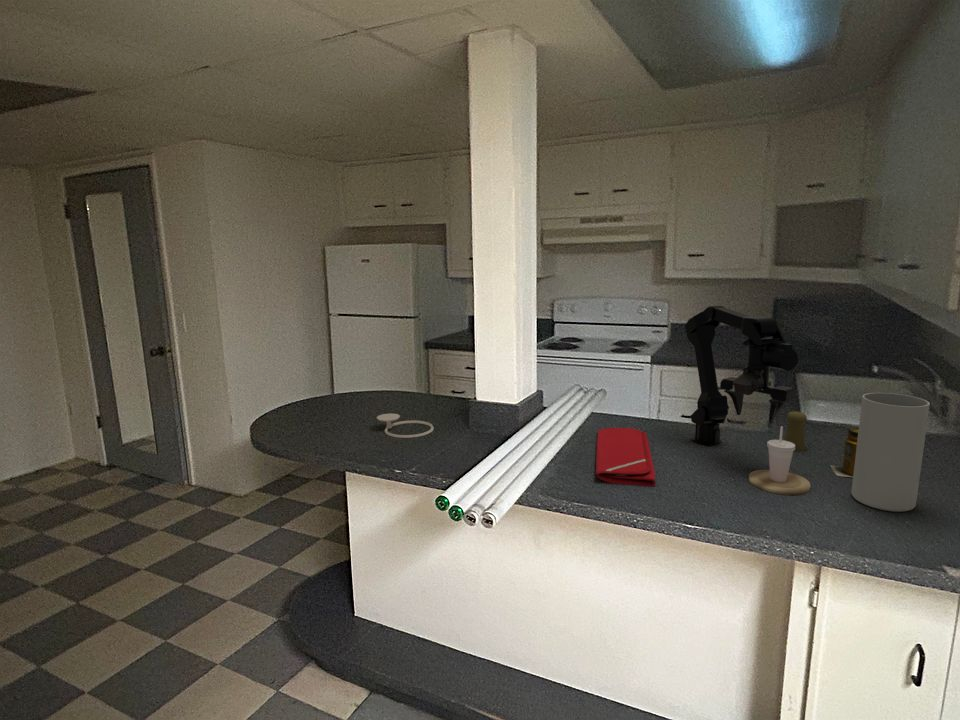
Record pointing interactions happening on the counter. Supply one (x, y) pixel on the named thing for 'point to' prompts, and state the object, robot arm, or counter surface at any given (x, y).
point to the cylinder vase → (889, 451)
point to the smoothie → (780, 458)
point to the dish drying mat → (624, 457)
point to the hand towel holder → (393, 417)
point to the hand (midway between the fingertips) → (754, 418)
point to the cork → (796, 430)
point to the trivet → (779, 483)
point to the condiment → (848, 455)
